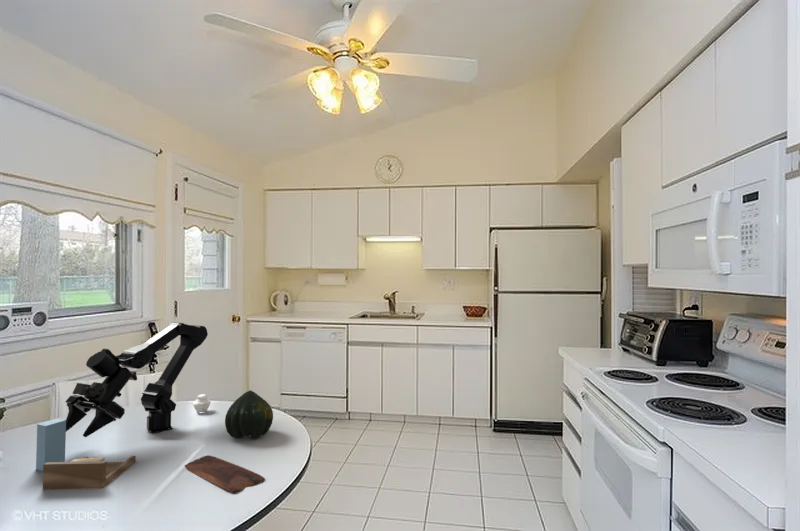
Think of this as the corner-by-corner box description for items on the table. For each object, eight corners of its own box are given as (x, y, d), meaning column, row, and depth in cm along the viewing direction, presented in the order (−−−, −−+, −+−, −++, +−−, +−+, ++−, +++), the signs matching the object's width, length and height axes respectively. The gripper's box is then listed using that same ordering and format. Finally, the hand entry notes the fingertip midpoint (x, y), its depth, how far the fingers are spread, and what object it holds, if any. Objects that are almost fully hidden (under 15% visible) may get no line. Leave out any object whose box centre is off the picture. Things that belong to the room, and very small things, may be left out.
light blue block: (56, 465, 119) (57, 418, 119) (64, 467, 118) (66, 420, 118) (35, 473, 114) (37, 424, 114) (44, 475, 113) (45, 426, 113)
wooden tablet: (178, 462, 119) (212, 446, 127) (179, 470, 120) (213, 454, 128) (232, 492, 104) (267, 472, 112) (233, 501, 104) (267, 480, 112)
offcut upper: (73, 468, 109) (73, 459, 109) (104, 466, 111) (104, 456, 111) (64, 476, 105) (64, 465, 105) (96, 473, 107) (96, 463, 107)
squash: (245, 432, 130) (266, 387, 140) (208, 427, 136) (231, 384, 146) (269, 450, 140) (287, 407, 150) (233, 445, 145) (253, 403, 155)
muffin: (213, 410, 168) (214, 392, 168) (203, 415, 162) (203, 396, 162) (200, 409, 169) (200, 391, 169) (189, 414, 163) (189, 395, 163)
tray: (83, 465, 119) (84, 440, 119) (136, 464, 120) (136, 439, 120) (42, 493, 104) (43, 464, 104) (102, 492, 105) (103, 463, 105)
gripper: (72, 368, 130) (29, 416, 119) (115, 373, 123) (73, 425, 113) (98, 387, 137) (60, 434, 127) (140, 394, 130) (103, 444, 120)
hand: (73, 434), depth 121 cm, fingers open, 9 cm apart
